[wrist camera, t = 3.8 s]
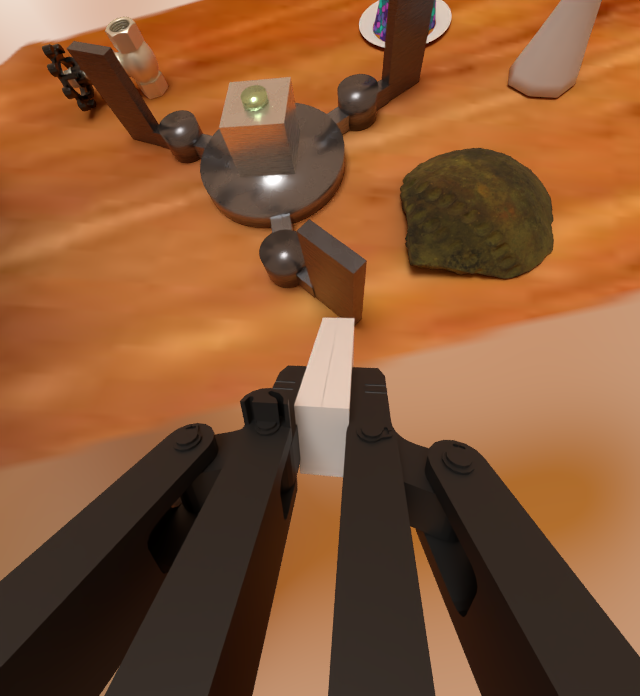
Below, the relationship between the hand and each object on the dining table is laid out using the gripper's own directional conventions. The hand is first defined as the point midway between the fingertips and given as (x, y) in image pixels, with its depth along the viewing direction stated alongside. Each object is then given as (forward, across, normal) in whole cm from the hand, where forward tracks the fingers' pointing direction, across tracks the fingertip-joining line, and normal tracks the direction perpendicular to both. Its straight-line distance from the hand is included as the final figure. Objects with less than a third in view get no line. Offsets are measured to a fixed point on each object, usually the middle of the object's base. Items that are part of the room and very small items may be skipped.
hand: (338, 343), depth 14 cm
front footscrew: (+14, -3, -1) cm, 15 cm away
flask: (+34, +21, +18) cm, 43 cm away
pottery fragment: (+20, +11, +4) cm, 23 cm away
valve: (+35, -32, +20) cm, 52 cm away
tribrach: (+26, -11, +11) cm, 30 cm away
